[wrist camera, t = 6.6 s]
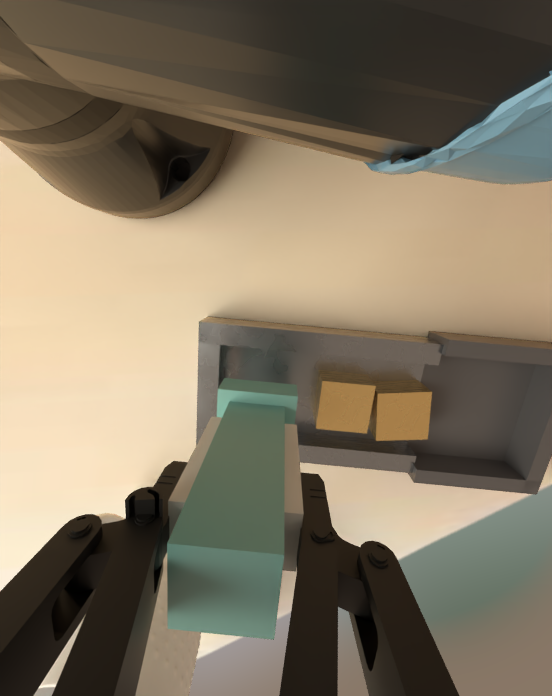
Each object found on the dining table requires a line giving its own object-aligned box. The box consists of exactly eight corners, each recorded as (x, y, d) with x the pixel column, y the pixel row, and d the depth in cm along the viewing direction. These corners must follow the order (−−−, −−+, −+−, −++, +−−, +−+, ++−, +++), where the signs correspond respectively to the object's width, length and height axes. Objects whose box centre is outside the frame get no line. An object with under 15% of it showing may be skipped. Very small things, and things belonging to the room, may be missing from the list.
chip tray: (428, 331, 24) (449, 339, 21) (552, 342, 24) (590, 352, 21) (399, 459, 27) (413, 482, 24) (509, 470, 27) (536, 494, 24)
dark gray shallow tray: (207, 316, 24) (199, 321, 22) (427, 337, 24) (443, 344, 21) (204, 435, 27) (196, 452, 24) (400, 454, 27) (412, 473, 24)
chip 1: (318, 369, 24) (322, 380, 22) (366, 374, 24) (376, 386, 22) (312, 413, 25) (315, 428, 23) (359, 418, 25) (366, 433, 23)
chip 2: (368, 381, 24) (377, 393, 22) (417, 379, 24) (432, 391, 22) (367, 424, 25) (375, 440, 23) (414, 423, 25) (427, 439, 23)
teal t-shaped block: (224, 377, 20) (141, 520, 9) (296, 384, 20) (312, 537, 8) (221, 442, 21) (145, 643, 10) (289, 448, 21) (294, 658, 10)
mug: (71, 497, 29) (-95, 672, 16) (164, 455, 27) (61, 613, 15) (152, 600, 32) (66, 813, 20) (240, 568, 31) (208, 776, 18)
